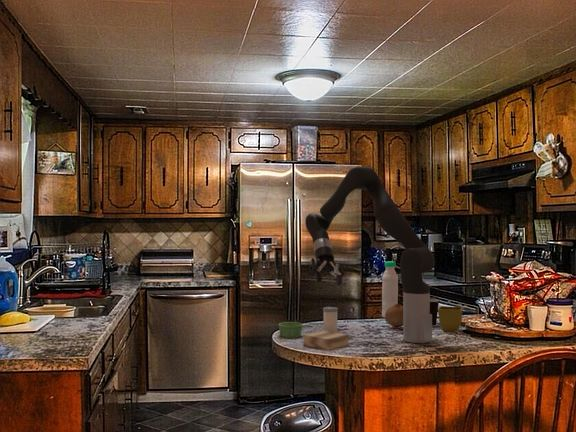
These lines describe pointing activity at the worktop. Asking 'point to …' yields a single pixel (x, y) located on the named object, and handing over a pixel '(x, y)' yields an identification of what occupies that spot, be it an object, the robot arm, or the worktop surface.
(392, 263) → the water bottle
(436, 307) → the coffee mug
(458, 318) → the flower pot
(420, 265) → the robot arm
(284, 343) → the worktop surface
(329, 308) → the canister
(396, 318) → the onion
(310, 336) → the base block
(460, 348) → the worktop surface
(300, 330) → the ramekin
